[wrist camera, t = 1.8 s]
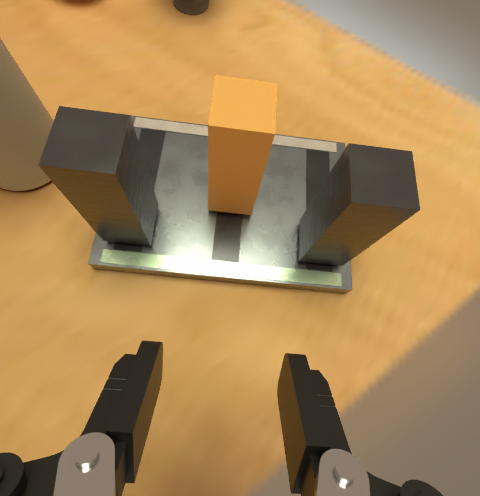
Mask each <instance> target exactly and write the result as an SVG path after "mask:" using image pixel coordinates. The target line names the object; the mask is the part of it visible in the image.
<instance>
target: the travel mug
mask: <svg viewBox="0 0 480 496" xmlns="http://www.w3.org/2000/svg"><path fill="white" fill-rule="evenodd" d="M53 122H54V121H53V119H52V118H51V116H50V115H49V113H48V112H47V110H46V108H45V107H44V105H43V104H42V102H41V101H40V99H39V98H38V96H37V94H36V93H35V91H34V90H33V88H32V87H31V85H30V84H29V82H28V80H27V79H26V77H25V76H24V74H23V73H22V71H21V70H20V68H19V66H18V65H17V63H16V62H15V60H14V59H13V57H12V56H11V54H10V52H9V51H8V49H7V48H6V46H5V45H4V43H3V42H2V40H1V38H0V188H2V189H6V190H12V191H24V190H30V189H34V188H37V187H40V186H42V185H44V184H46V183H48V182H50V181H51V179H50V178H49V177H48V176H47V175H46V174H45V173H44V171H43V170H42V169H41V168H40V167H39V166H38V164H39V161H40V158H41V156H42V153H43V150H44V147H45V144H46V142H47V139H48V136H49V133H50V130H51V128H52V125H53Z"/></svg>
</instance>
